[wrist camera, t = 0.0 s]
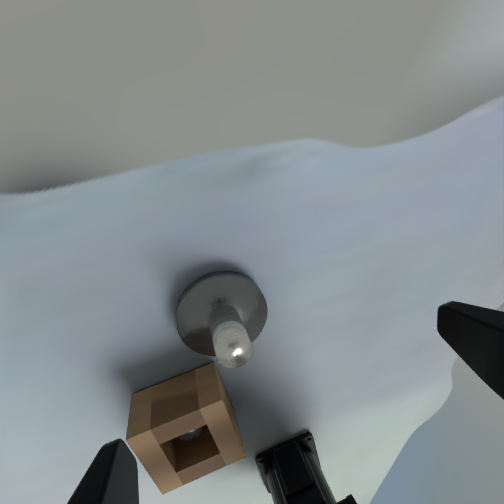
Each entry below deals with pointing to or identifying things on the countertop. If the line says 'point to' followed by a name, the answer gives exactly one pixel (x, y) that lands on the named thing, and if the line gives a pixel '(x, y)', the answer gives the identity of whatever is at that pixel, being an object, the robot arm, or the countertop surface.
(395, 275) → the countertop surface
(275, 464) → the robot arm
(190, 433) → the grey metal cylinder
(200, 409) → the wooden square frame
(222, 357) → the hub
